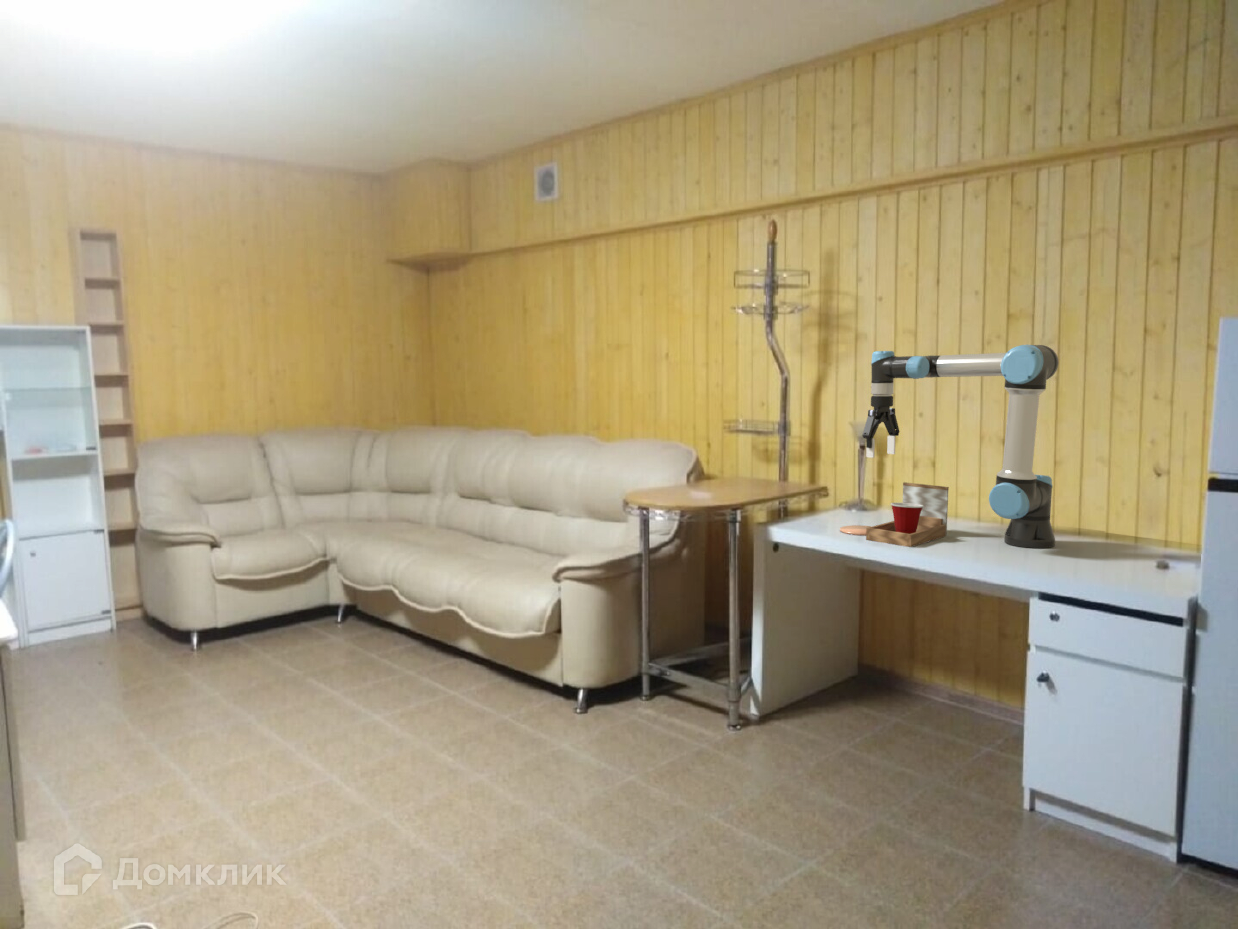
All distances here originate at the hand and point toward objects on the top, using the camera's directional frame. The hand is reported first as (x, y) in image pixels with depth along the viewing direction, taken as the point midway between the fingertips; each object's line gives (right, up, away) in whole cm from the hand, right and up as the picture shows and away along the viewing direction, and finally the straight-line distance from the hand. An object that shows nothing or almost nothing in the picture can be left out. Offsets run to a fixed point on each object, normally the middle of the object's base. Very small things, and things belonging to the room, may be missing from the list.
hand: (880, 455), depth 311 cm
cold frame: (+5, -28, -10) cm, 30 cm away
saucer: (-7, -27, +1) cm, 28 cm away
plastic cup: (+5, -28, -10) cm, 31 cm away
